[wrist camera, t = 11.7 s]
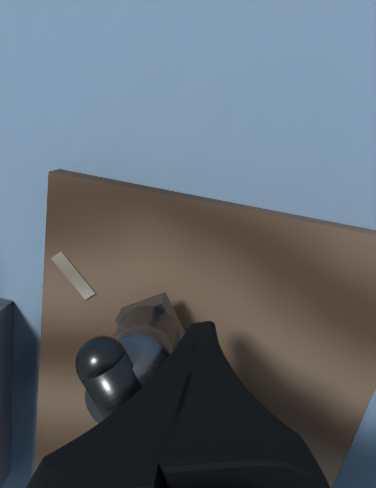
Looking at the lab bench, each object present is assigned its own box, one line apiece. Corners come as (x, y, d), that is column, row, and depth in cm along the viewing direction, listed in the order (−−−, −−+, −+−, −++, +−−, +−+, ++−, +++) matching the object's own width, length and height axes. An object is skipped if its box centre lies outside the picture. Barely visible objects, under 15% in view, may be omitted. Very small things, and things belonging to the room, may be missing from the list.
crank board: (303, 523, 21) (308, 544, 19) (42, 467, 21) (32, 485, 20) (423, 240, 15) (438, 248, 14) (59, 169, 15) (47, 172, 14)
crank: (299, 511, 19) (339, 700, 12) (229, 526, 19) (235, 710, 13) (179, 247, 15) (151, 332, 8) (96, 279, 15) (15, 378, 9)
